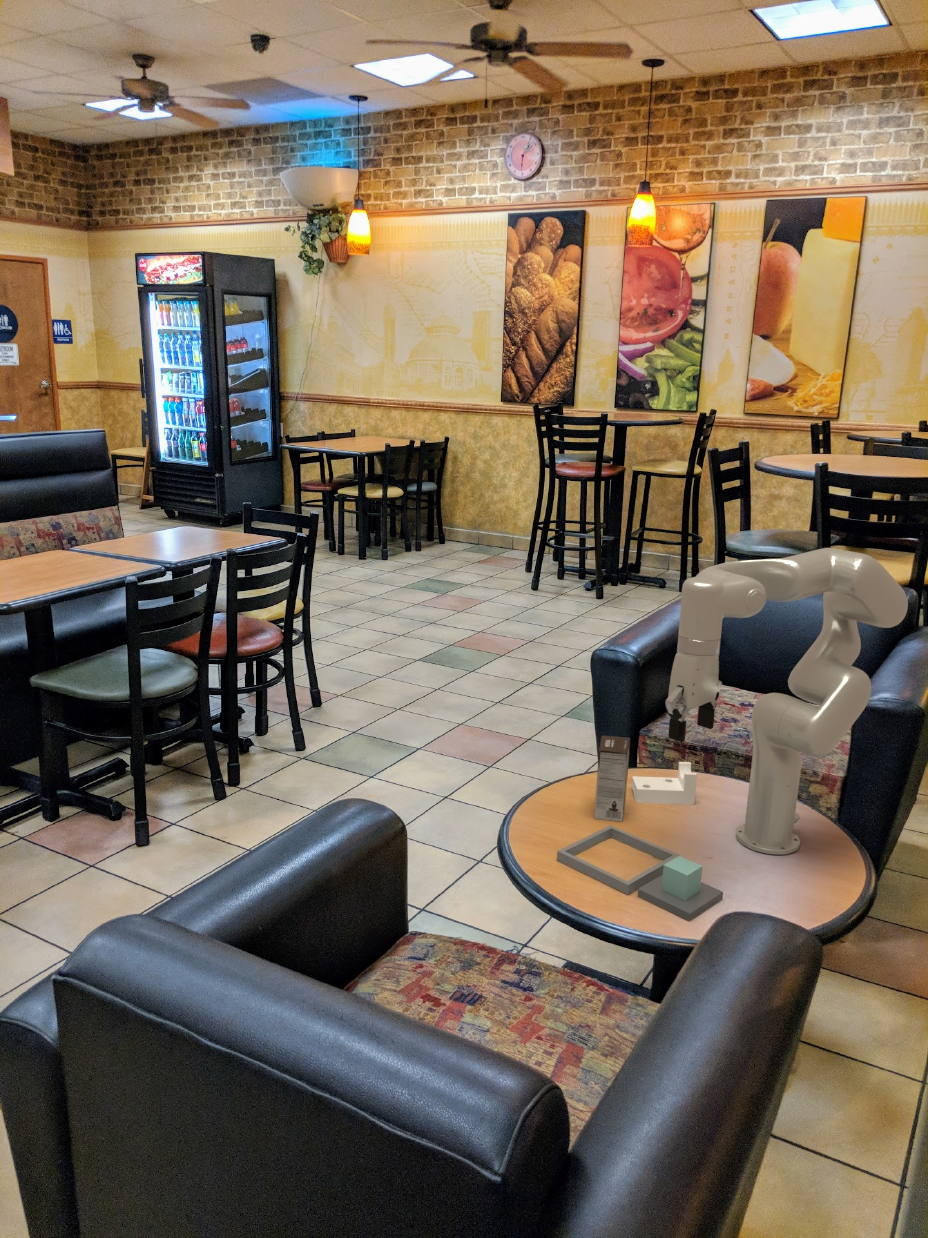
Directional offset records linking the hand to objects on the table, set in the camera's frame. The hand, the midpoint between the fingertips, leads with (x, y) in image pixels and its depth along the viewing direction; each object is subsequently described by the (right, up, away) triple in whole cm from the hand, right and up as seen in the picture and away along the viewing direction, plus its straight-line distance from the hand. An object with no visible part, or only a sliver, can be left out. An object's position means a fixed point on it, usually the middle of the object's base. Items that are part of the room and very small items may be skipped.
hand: (690, 733), depth 176 cm
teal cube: (-3, -28, -4) cm, 29 cm away
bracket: (+3, -20, +39) cm, 44 cm away
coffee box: (-10, -21, +30) cm, 39 cm away
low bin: (-12, -26, +8) cm, 30 cm away
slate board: (-3, -30, -4) cm, 30 cm away
